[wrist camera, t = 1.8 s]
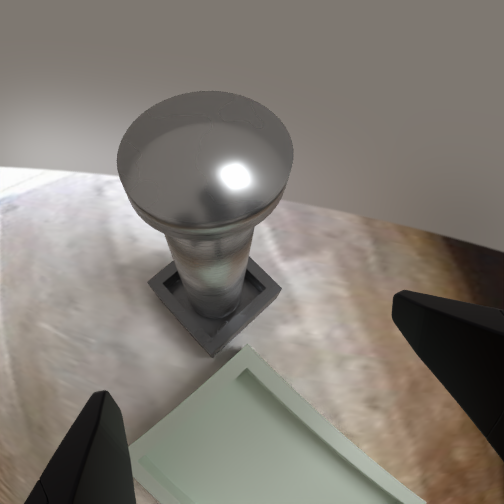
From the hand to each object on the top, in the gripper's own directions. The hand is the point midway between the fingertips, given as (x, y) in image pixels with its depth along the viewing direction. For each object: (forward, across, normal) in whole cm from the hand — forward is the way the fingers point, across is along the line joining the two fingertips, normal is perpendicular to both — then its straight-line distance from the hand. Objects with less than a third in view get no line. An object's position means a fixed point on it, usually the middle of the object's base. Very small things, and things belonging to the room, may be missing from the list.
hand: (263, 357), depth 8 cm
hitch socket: (+12, 0, +5) cm, 13 cm away
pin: (+12, 0, +4) cm, 13 cm away
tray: (+2, 0, +15) cm, 15 cm away
